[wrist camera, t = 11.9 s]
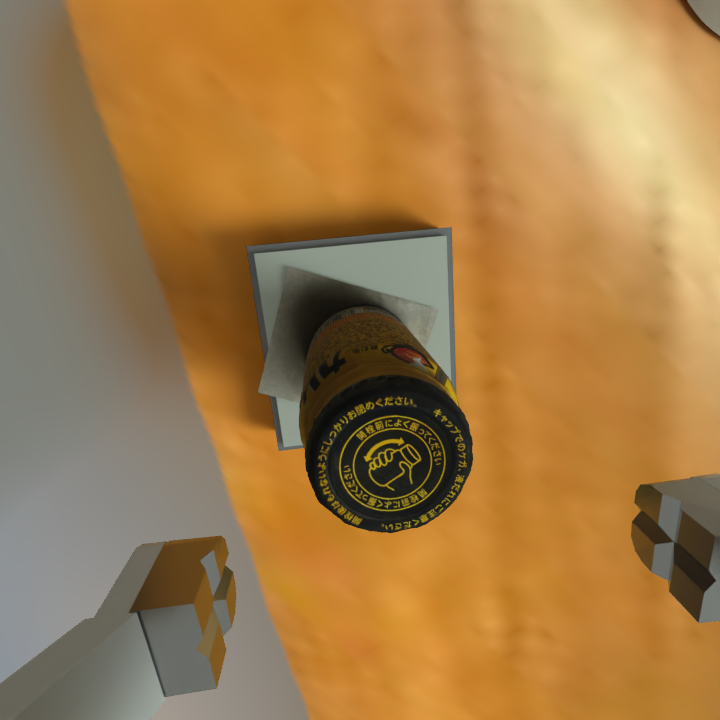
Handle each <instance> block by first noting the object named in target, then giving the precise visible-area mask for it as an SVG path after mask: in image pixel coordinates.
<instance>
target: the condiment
mask: <svg viewBox="0 0 720 720" xmlns="http://www.w3.org/2000/svg"><path fill="white" fill-rule="evenodd" d="M438 311H439V310H438V309H434V308H431V307H428V306H424V305H421V304H417V303H414V302H411V301H407V300H404V299H400V298H397V297H393V296H390V295H387V294H383V293H379V292H376V291H372V290H369V289H365V288H362V287H358V286H355V285H351V284H347V283H344V282H341V281H338V280H334V279H331V278H327V277H324V276H320V275H317V274H313V273H309V272H306V271H303V270H299V269H296V268H292V267H288V271H287V275H286V279H285V283H284V287H283V291H282V296H281V300H280V304H279V308H278V312H277V316H276V321H275V324H274V328H273V332H272V337H271V342H270V345H269V349H268V353H267V357H266V361H265V365H264V369H263V373H262V377H261V381H260V385H259V389H258V393H261V394H266V395H269V396H273V397H278V398H283V399H286V400H289V401H293V402H299V403H300V404H299V430H300V437H301V441H302V444H303V446H304V449H305V458H306V471H307V472H308V477H309V480H310V483H311V485H312V488H313V490H314V492H315V495H316V497H317V500H318V501H319V502H320V503H321V504H322V505H323V506H324V507H326V508H327V509H328V510H330V511H331V512H332V513H333V514H334V515H336V516H337V517H338V518H340V519H341V520H342V521H343V522H344V523H346V524H348V525H352V526H354V527H357V528H361V529H365V530H368V531H377V532H388V533H394V532H398V531H401V530H406V529H411V528H418V527H420V526H423V525H425V524H427V523H428V522H430V521H431V520H433V519H435V518H436V517H438V516H439V515H440V514H441V513H443V512H444V511H445V510H446V509H447V508H448V507H449V506H450V505H451V504H452V503H453V502H454V501H455V500H456V499H457V497H458V495H459V494H460V492H461V490H462V488H463V485H464V483H465V481H466V479H467V478H468V476H469V473H470V471H471V466H472V461H473V453H472V445H473V444H472V437H471V435H470V430H469V424H468V422H467V420H466V418H465V415H464V413H463V412H462V411H461V409H460V408H459V404H458V400H457V396H456V391H455V389H454V387H453V385H452V383H451V381H450V380H449V377H448V376H447V375H446V374H445V372H444V371H443V370H442V368H441V367H440V366H439V365H438V364H437V362H436V361H435V360H434V359H433V358H432V357H431V355H430V354H429V353H428V352H427V351H426V349H425V348H426V345H427V343H428V340H429V337H430V335H431V331H432V329H433V326H434V323H435V320H436V317H437V314H438Z"/></svg>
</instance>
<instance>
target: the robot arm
mask: <svg viewBox="0 0 720 720" xmlns="http://www.w3.org/2000/svg"><path fill="white" fill-rule="evenodd" d="M687 1H688V3H689V4H690V6H691V7H692V9H693V10H694V12H695V13H696V14H697V15H698V17H699V18H700V19H701V20H702V21H703V22H704V23H705V24H706V25H707V26H708V27H709V28H710V29H711V30H712V31H714V32H715V33H717V34H718V35H719V36H720V0H687ZM634 503H635V504H636V505H637V507H638V508H639V509H640V513H639V514H638V515H637V516H636V517H635V519H634V520H633V521H632V529H631V538H632V541H633V545H634V548H635V551H636V553H637V554H638V556H639V558H640V559H641V561H642V562H643V563H644V565H645V566H646V567H647V568H648V569H649V570H650V571H651V572H652V573H654V574H656V575H658V576H660V577H662V578H664V579H666V580H668V584H669V592H670V593H671V594H672V595H673V596H674V597H675V598H676V599H677V600H678V601H679V602H680V604H681V605H682V606H683V607H684V608H685V609H686V610H687V611H688V612H689V613H690V614H691V615H692V616H693V617H694V618H695V620H696V621H697V622H698V623H703V622H712V621H720V474H709V475H703V476H696V477H691V478H688V479H680V480H672V481H664V482H656V483H649V484H641V485H640V486H639V488H638V489H637V491H636V495H635V502H634ZM227 557H228V549H227V545H226V542H225V539H224V538H223V537H222V536H214V537H203V538H193V539H183V540H173V541H169V542H157V543H148V544H142V545H140V546H139V547H137V548H136V549H135V550H134V552H133V554H132V555H131V557H130V559H129V561H128V562H127V564H126V566H125V567H124V569H123V570H122V572H121V574H120V575H119V577H118V579H117V580H116V582H115V584H114V585H113V587H112V589H111V590H110V592H109V594H108V595H107V597H106V599H105V600H104V602H103V604H102V605H101V607H100V608H99V610H98V612H97V613H96V615H95V617H94V618H89V619H84V620H83V621H82V622H80V623H79V624H78V625H76V626H75V627H74V628H72V629H71V630H70V631H68V632H67V633H66V634H65V635H63V636H62V637H61V638H59V639H58V640H57V641H55V642H54V643H53V644H51V645H50V646H49V647H48V648H46V649H45V650H44V651H42V652H41V653H40V654H38V655H37V656H36V657H35V658H33V659H32V660H31V661H29V662H28V663H27V664H25V665H24V666H23V667H21V668H20V669H19V670H17V671H16V672H15V673H14V674H12V675H11V676H10V677H8V678H7V679H6V680H4V681H3V682H2V683H0V720H150V719H151V718H152V717H153V715H154V714H155V713H156V711H157V710H158V709H159V708H160V706H161V705H162V704H163V702H164V701H165V698H164V697H168V696H174V695H180V694H186V693H192V692H198V691H204V690H210V689H216V688H217V686H218V681H219V677H220V673H221V669H222V665H223V661H224V657H225V653H226V647H225V643H224V639H223V636H224V635H225V634H226V633H227V631H229V629H230V628H231V627H232V624H233V620H234V615H235V606H236V586H235V579H234V574H233V572H232V571H231V570H230V569H229V568H228V567H226V566H225V564H226V560H227Z"/></svg>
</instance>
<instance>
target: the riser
mask: <svg viewBox="0 0 720 720" xmlns="http://www.w3.org/2000/svg"><path fill="white" fill-rule="evenodd" d="M246 248H247V254H248V260H249V266H250V273H251V279H252V285H253V292H254V298H255V304H256V311H257V317H258V323H259V329H260V336H261V342H262V348H263V355H264V361H266V357H267V353H268V349H269V345H270V342H271V337H272V332H273V328H274V324H275V321H276V316H277V312H278V308H279V304H280V300H281V296H282V291H283V287H284V283H285V279H286V275H287V271H288V267H292V268H296V269H299V270H303V271H306V272H309V273H313V274H317V275H320V276H324V277H327V278H331V279H334V280H338V281H341V282H344V283H347V284H351V285H355V286H358V287H362V288H365V289H369V290H372V291H376V292H379V293H383V294H387V295H390V296H393V297H397V298H400V299H404V300H407V301H411V302H414V303H417V304H421V305H424V306H428V307H431V308H434V309H438V310H439V311H438V314H437V317H436V320H435V323H434V326H433V329H432V331H431V335H430V337H429V340H428V343H427V345H426V348H425V349H426V351H427V352H428V353H429V354H430V355H431V357H432V358H433V359H434V360H435V361H436V362H437V364H438V365H439V366H440V367H441V368H442V370H443V371H444V372H445V374H446V375H447V376H448V377H449V380H450V381H451V383H452V385H453V387H454V389H455V391H456V366H455V331H454V295H453V260H452V227H449V228H437V229H426V230H415V231H405V232H394V233H383V234H372V235H362V236H351V237H340V238H330V239H319V240H308V241H298V242H287V243H276V244H266V245H255V246H246ZM270 399H271V405H272V411H273V418H274V424H275V430H276V436H277V443H278V449H279V451H281V450H290V449H298V448H304V446H303V444H302V441H301V437H300V430H299V404H300V403H299V402H293V401H289V400H286V399H283V398H278V397H273V396H270Z"/></svg>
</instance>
